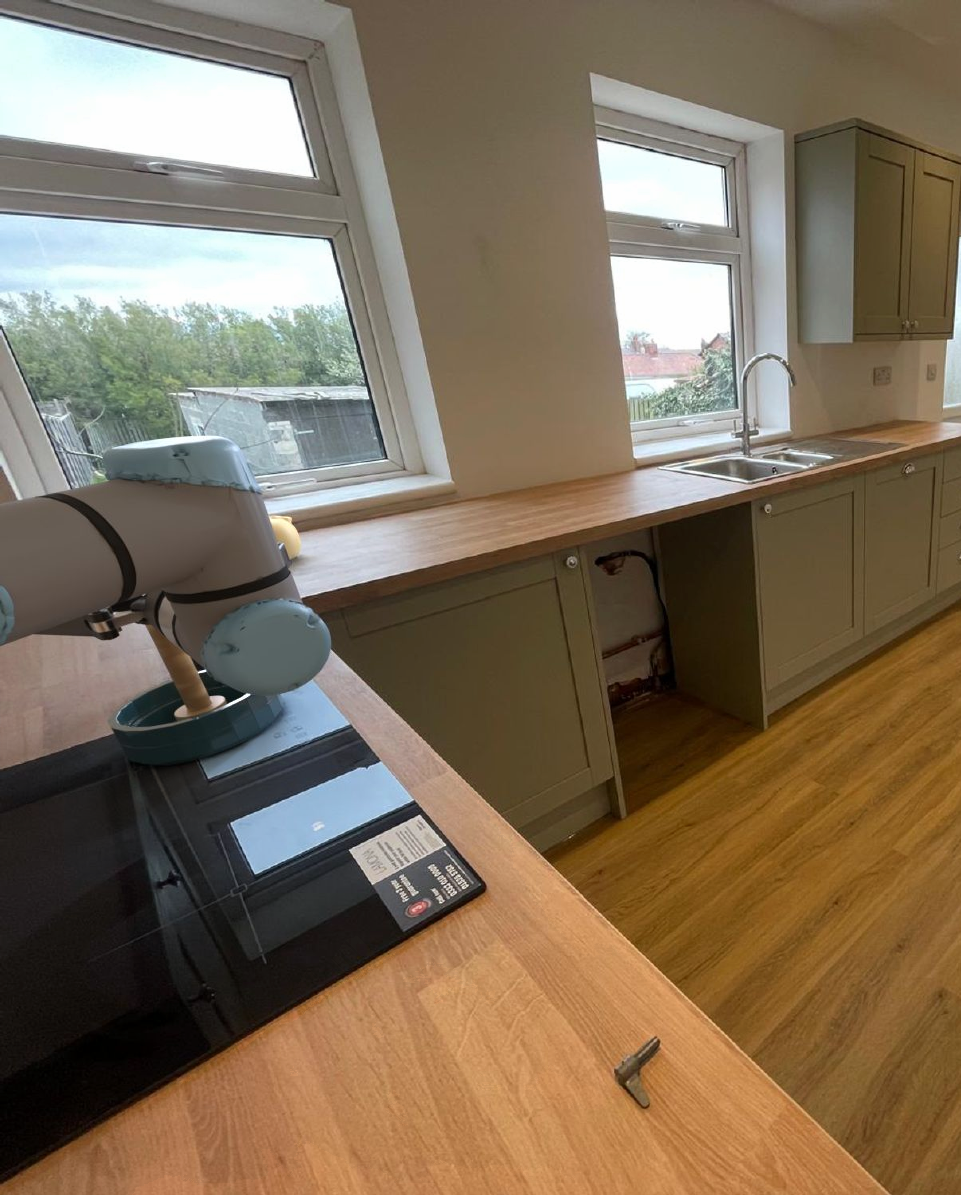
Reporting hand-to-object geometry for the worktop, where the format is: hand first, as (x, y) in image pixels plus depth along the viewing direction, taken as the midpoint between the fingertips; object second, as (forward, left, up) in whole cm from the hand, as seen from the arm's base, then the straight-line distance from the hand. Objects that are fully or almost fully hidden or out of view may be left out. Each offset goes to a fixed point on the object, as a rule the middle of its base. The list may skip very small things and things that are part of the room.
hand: (148, 569), depth 69 cm
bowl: (-3, +9, -24) cm, 26 cm away
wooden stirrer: (-3, +9, -23) cm, 25 cm away
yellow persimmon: (+1, +90, -24) cm, 93 cm away
